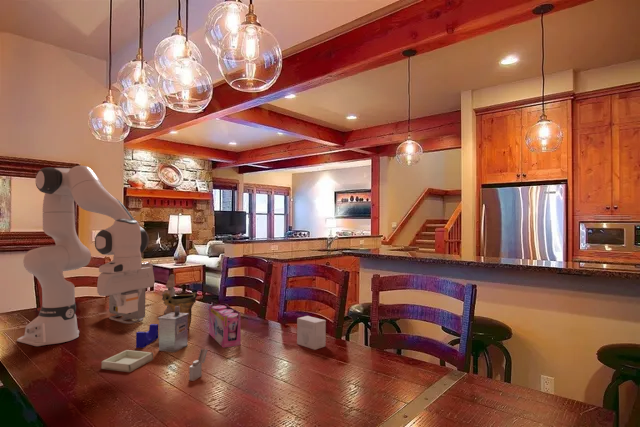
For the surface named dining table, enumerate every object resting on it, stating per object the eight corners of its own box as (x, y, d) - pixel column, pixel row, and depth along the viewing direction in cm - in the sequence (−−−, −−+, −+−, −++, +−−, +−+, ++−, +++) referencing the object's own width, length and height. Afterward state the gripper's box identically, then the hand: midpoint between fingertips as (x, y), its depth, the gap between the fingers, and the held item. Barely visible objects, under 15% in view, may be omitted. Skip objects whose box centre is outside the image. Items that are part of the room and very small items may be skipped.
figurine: (173, 309, 206) (173, 273, 206) (183, 311, 201) (183, 274, 202) (159, 313, 198) (159, 275, 198) (169, 315, 194) (169, 276, 194)
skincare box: (326, 346, 147) (326, 319, 148) (315, 350, 143) (315, 322, 143) (307, 340, 155) (307, 314, 155) (296, 344, 150) (296, 317, 150)
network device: (149, 320, 183) (149, 280, 183) (132, 325, 176) (132, 282, 176) (120, 313, 197) (120, 275, 197) (103, 317, 189) (104, 278, 190)
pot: (169, 337, 157) (170, 294, 158) (155, 332, 164) (156, 291, 164) (204, 328, 171) (204, 288, 171) (190, 323, 178) (190, 286, 178)
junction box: (157, 350, 142) (157, 309, 142) (171, 343, 150) (172, 304, 150) (175, 352, 140) (175, 311, 140) (188, 345, 148) (189, 305, 148)
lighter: (193, 381, 115) (193, 355, 115) (189, 380, 116) (189, 354, 116) (207, 372, 122) (207, 347, 122) (202, 371, 123) (203, 347, 123)
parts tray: (101, 368, 125) (101, 361, 125) (126, 356, 135) (126, 349, 136) (129, 372, 122) (129, 364, 122) (152, 359, 133) (153, 352, 133)
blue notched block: (147, 338, 157) (147, 323, 157) (158, 338, 157) (158, 324, 157) (132, 348, 145) (132, 332, 145) (143, 348, 145) (143, 332, 145)
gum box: (242, 346, 148) (242, 313, 148) (224, 349, 144) (224, 316, 144) (225, 331, 167) (225, 303, 167) (208, 334, 163) (208, 305, 163)
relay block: (126, 313, 128) (126, 293, 128) (117, 312, 130) (117, 292, 130) (138, 310, 132) (138, 290, 132) (129, 309, 134) (129, 289, 134)
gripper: (146, 261, 142) (146, 297, 142) (94, 267, 123) (94, 309, 123) (158, 261, 139) (158, 298, 139) (106, 268, 121) (106, 311, 120)
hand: (128, 304), depth 131 cm, fingers closed on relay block, 5 cm apart
